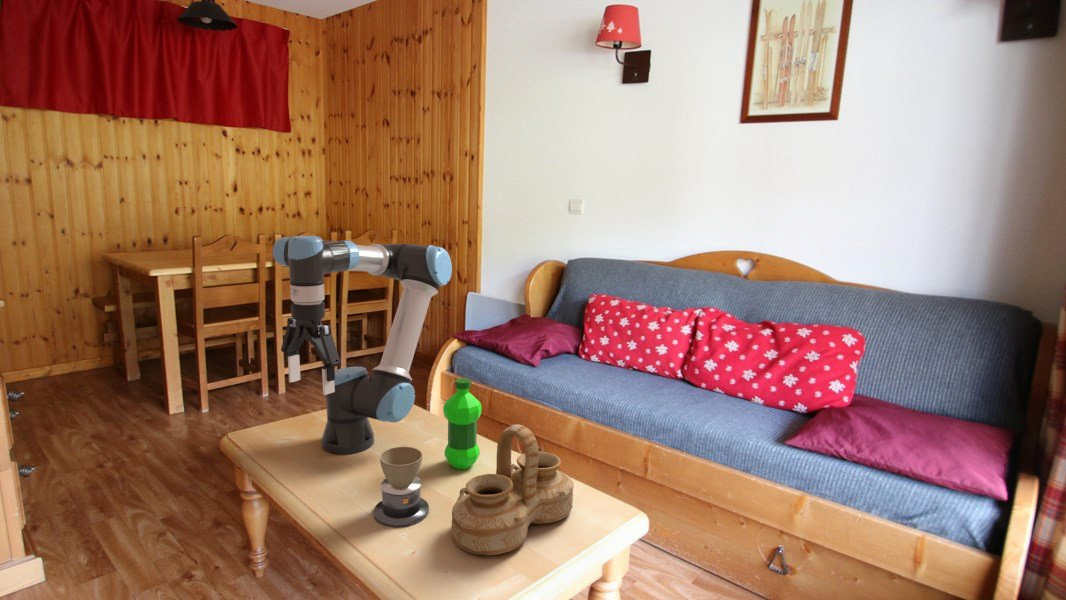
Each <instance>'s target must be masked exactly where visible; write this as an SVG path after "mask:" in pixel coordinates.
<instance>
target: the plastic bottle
mask: <svg viewBox="0 0 1066 600" xmlns="http://www.w3.org/2000/svg"><path fill="white" fill-rule="evenodd" d="M471 383H472V382H471V379H469V378H465V377H464V378H463V377H461V378H456V379H455V380H454V388H456V392H455V393H454V394H452V395H451V396H450V397H449V398H448V399H447V400H446V401H445V403H444V405H443V410H442V411H443V416H444V417H445V418H446V420H447V445H446V447H445V449H444V457H445V460H446V461H447V462H448V463H449V464H450V465H451V466H452V467H453V468H454V469H457V470H467V469H469V468H470V467H471V466H473V465H474V464H475V463H476V462H477V460H478V459H479V457H480V453H481V452H480V450H481V449H480V447H479V445H478V444H477V437H478V436H477V431H478V430H477V424H478V423H477V422H478V419H479V418H480V417H481V415H482V404H481V401H479V400H478V399H477V398H476V397H475V396H474V395H473V394H472V393H471V392H469V391H470V390H469V389H470V388H471V386H472V384H471Z"/></svg>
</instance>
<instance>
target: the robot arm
mask: <svg viewBox="0 0 1066 600" xmlns="http://www.w3.org/2000/svg"><path fill="white" fill-rule="evenodd" d="M272 248H273V249H272V256H273V259H274V261H275V262H276V263H277V264H279V265H280V266H285V267H287V268H289V269H288V270H289V271H288V273H289V284H290V285H289V286H290V290H289V292H290V301H292V303H291V304H290V311H291V312H290V314H291V316H290V317H287V319H286V320H287V321H286V330H285V333H284V337H283V340H282V345H281V348H280V351H281V352H282V353H285V356H286V358H287V367H288V369H287V370H288V382H289V383H294V382H298V381H301V364H300V363H301V362H300V359H301V358H300V354H299V353H300V351H299V350H300V348H301V346H302V345H303V343H304V342H305V340H306V341H308V342H309V343H310V344H311V345H312V346H313V347H314V349H315V351H316V352H317V355H318V356H319V359H320V361H321V363H322V365H323V367H322V368H321V373H322V374H321V376H322V394H323V395H324V396H325V399H326V423H325V427H324V430H323V434H322V437H321V448H322V449H323V450H324V451H326V452H328V453H331V454H335V455H336V454H338V455H346V454H348V455H349V454H355V453H356V454H357V453H359V452H363V451H366V450H367V449H369V448H371V447H372V446H373V445H374V443H375V433H374V430H373V427H372V425H371V423H370V420H369V419H373V420H377V421H381V422H384V423H386V422H387V423H398V422H400V421H402V420H403V419H404V418H406V417H407V416H408V415H409V414H410V413H411V410H412V408H413V406H414V403H415V399H416V394H415V393H416V392H415V388H414V386H413V385H412V381H413V378H412V377H411V375H410V370H411V366H412V362H413V359H414V355H415V352H416V348H417V347H418V343H419V339H420V336H421V333H422V329H423V326H424V322H425V320H426V316H427V314H428V313H427V312H428V310H429V309H428V308H429V306H430V304H431V303H430V302H431V299H432V297H433V296H436V295H438V293H439V290H440V287H443V286H446V285H447V284H448V283H449V282H450V280H451V278H452V274H453V273H452V272H453V267H452V266H453V264H452V261H451V257H450V254H449V253H448V251H447V250H446V249H445V248H443V247H440V246H435V245H432V244H430V245H426V244H425V245H424V244H423V245H422V244H414V243H413V244H412V243H381V244H380V243H372V244H370V245H363V244H362V245H360V244H356V243H354V242H353V241H350V240H341V239H340V240H337V241H336V240H335V241H332V240H323V239H322V237H320V236H317V235H296V236H287V237H285V236H284V237H283V236H282V237H280V238H279V239H278V240H276V241H275V243H274V245H273V247H272ZM346 271H351V272H352V271H353V272H366V273H368V274H370V275H372V276H378V277H379V276H380V277H385V278H389V279H393V280H397V281H400V284H401V286H402V288H403V290H402V293H401V296H400V299H399V303H398V306H397V308H396V312H395V316H394V318H393V322H392V325H391V328H390V331H389V334H388V337H387V340H386V341H387V342H386V345H385V347H384V351H383V354H382V357H381V360H380V363H379V365H377V366H375V367H374V368H372V370H371V374H370V376H369V375H368V371H367V368H366V367H363V366H350V367H343V368H339V369H336V367H337V366H341V365H342V362H341V358H340V355H339V353H338V349H337V346H336V343H335V340H334V337H333V335H332V326H331V325H330V324H327V325H323V324H322V320H323V318H324V317H325V316H326V310H325V308H326V307H325V302H324V301H325V281H324V280H325V279H324V278H325V275H326V274H327V275H328V274H332V273H338V272H346ZM335 369H336V370H335Z"/></svg>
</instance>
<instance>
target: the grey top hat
mask: <svg viewBox="0 0 1066 600" xmlns="http://www.w3.org/2000/svg"><path fill="white" fill-rule="evenodd" d="M421 486H422V480H421V479H420V478H419V477H418V476H417V475H416V477H415V479H414V481H413V482H412V483H411V485H409V486H407V487H404V488H396V487H393V486H392V485H391V484H390V483H389V482H388V480H387V479H386V478H384V479H383V480H382V481H381V484H380V488H381V489H380V490H381V500H380V501H378V503H377V504H376V505H375V506H374V508H373V518H374V520H375V521H376V522H377V523H379V524H380V525H382V526H384V527H390V528H405V527H410V526H413V525H416V524H418V523H420V522H422V521H423V520H425V519H426V518H427V516H428V515H429V511H430V509H429V507H430V505H429V503H428V501H426V499H424V498H423V497H421Z"/></svg>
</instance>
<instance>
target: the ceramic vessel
mask: <svg viewBox="0 0 1066 600" xmlns="http://www.w3.org/2000/svg"><path fill="white" fill-rule="evenodd" d="M514 437H516V438H517V439H519V441H520V442H521V444H522V446H523V450H524V453H522V454H520V455H519V456H518V457H517V458H516V463H517V464H513V463H512V446H513V439H514ZM536 438H537V437H536V436H535V435H534V433H533V432H532V431H531V430H530V429H529V428H528V427H526V425H522V424H516V423H515V424H512V425H510V426H509V427H507V428H505V429H504V430H503V431H502V433H501V434H500V436H499V439H498V441H497V446H496V469H495V473H486V474H480V475H479V474H478V475H476V476H474V477H472V478H471V479H469V481H467V482H466V484H465V487H462V488H460V490H459V495H458V497H457V499H456V500H455V501H456V502H455V503H454V505H453V506H452V510H451V528H450V529H451V537H452V540H453V542H454V543H455V545H456V546H457V547H459V548H460V549H462V550H463V551H466V552H468V553H471V554H473V555H479V556H480V555H481V556H497V555H501V554H505V553H508V552H511V551H514V550H516V549H518V548H519V547H520V546H521V545H523V543H524V542H525V541H526V539H527V537H528V531H529V526H530V525H531V524H538V525H539V524H540V525H541V524H549V523H554V522H557V521H558V522H559V521H561V520H562V519H564V518H565V517H567V516H568V515H569V514H570V513H571V511H572V509H573V501H574V497H573V496H574V488H575V486H574V482H573V480H572V478H571V477H570V476H569V475H567V474H565V473H564V472H562V471H561V470H558V469H559V468H561V465H562V460H561V458H560V457H559V456H557V455H556V454H554V453H551V452H546V451H539V445H538V442H537V439H536Z"/></svg>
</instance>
